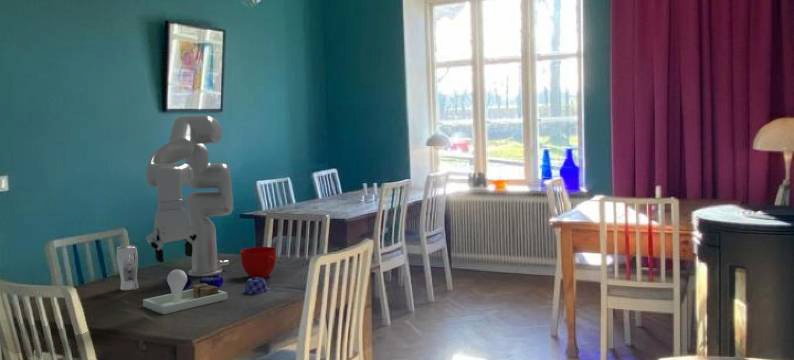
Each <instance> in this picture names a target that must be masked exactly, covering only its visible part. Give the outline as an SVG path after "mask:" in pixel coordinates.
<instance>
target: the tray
mask: <svg viewBox="0 0 794 360" xmlns="http://www.w3.org/2000/svg"><path fill="white" fill-rule="evenodd" d="M228 297H229V296H228V292H226V291H223V290H220V289H218V294H215V295H210V296H206V297H201V298H195V297H194V294H193V288H191V289H187V290H183V291H182V296H181V302H179V303H173V300H172V292H171V293H168V294H163V295H158V296H154V297H149V298H145V299H144V298H143V299H142V305H143V308H145V309H149V310H151V311H153V312H156V313H159V314H162V315H167V314H171V313H175V312H179V311H184V310H189V309H192V308H197V307H201V306H206V305H209V304H215V303H219V302H223V301H227V300H228Z"/></svg>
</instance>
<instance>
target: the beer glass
mask: <svg viewBox="0 0 794 360" xmlns="http://www.w3.org/2000/svg"><path fill="white" fill-rule="evenodd" d="M116 263H117V269H118V272H119V276H120V287H119V288H120V291H125V292H126V291H133V290H137V289H139V283H138V279H137V278H138V276H137V275H138V266H139V265H138V263H139V256H138V249H137V246H136V245H133V244H132V245H122V246H118V247H116Z"/></svg>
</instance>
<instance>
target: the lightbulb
mask: <svg viewBox="0 0 794 360" xmlns="http://www.w3.org/2000/svg"><path fill="white" fill-rule="evenodd" d="M166 282H167V284H168V286H169V288H170V292H171V293H172V300H173V303H179V302H181V296H182V291H184V288H185V287H186V284H187V282H188V276H187V274H186V272H185V271H184V270H182V269H173V270H172V271H171V270H170V272H169V273H168V275H167V277H166Z"/></svg>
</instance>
